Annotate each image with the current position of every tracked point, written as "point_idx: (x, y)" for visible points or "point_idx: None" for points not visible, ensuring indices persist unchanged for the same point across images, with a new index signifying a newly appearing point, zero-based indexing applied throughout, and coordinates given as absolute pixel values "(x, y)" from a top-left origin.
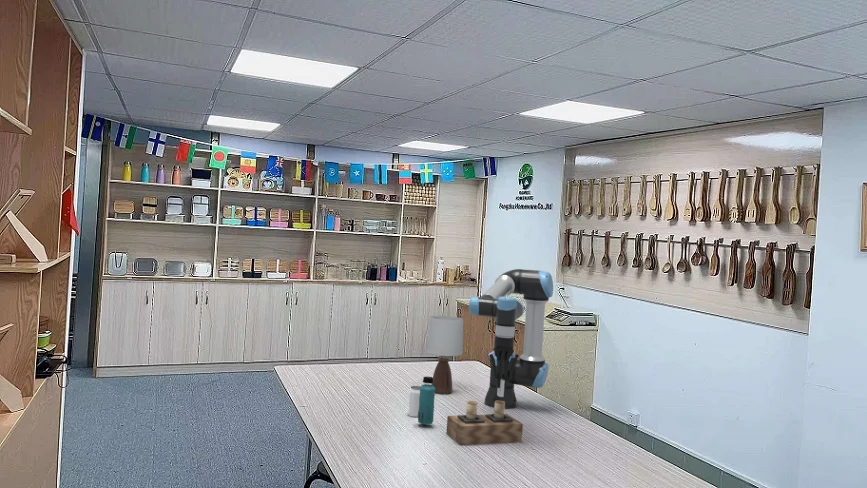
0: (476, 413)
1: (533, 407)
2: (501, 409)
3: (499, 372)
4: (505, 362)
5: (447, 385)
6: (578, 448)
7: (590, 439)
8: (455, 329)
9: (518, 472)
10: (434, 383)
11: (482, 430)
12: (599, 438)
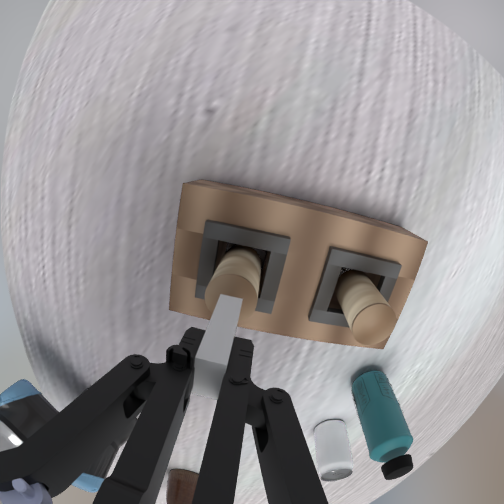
0: (351, 289)
1: (58, 370)
2: (240, 264)
3: (238, 424)
4: (146, 495)
5: (181, 481)
6: (93, 93)
7: (36, 153)
8: None
9: (373, 11)
10: None
11: (352, 217)
12: (21, 156)
